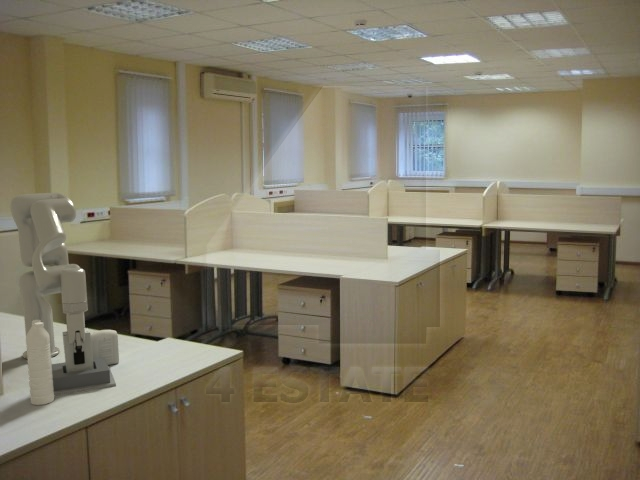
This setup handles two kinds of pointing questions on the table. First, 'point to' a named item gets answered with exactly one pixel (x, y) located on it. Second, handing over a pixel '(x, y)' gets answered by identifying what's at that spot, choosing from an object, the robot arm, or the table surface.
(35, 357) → the water bottle
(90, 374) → the dock
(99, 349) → the photo printer
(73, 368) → the skincare box
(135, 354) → the table surface
